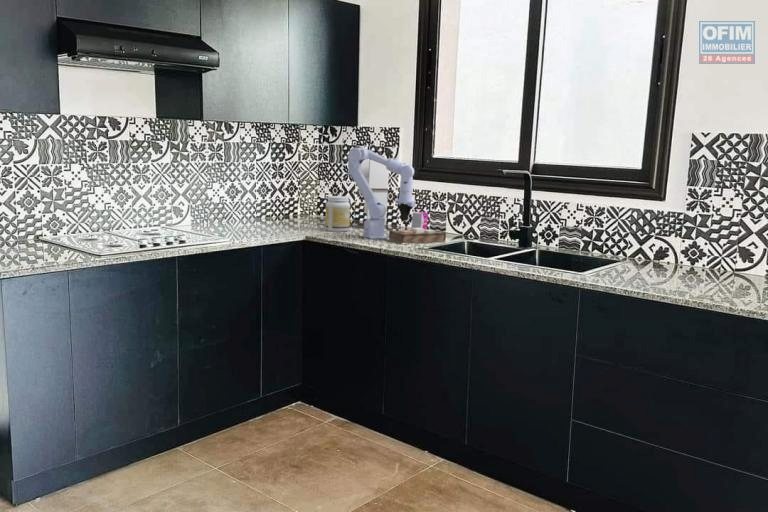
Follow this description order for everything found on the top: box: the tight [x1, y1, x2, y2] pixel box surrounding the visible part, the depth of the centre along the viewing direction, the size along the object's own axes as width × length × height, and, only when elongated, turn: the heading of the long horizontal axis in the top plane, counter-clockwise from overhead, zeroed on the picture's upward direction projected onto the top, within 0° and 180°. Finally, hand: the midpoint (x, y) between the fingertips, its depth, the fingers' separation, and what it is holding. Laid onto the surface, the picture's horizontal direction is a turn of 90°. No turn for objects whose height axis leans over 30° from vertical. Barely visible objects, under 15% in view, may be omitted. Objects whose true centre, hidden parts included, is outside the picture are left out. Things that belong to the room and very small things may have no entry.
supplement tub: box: [324, 195, 351, 233], centre depth 344 cm, size 12×12×17 cm
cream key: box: [410, 227, 424, 233], centre depth 324 cm, size 4×4×4 cm
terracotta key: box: [399, 229, 413, 233], centre depth 320 cm, size 4×4×4 cm
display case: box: [356, 159, 390, 230], centre depth 358 cm, size 11×11×35 cm
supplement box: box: [411, 211, 429, 230], centre depth 343 cm, size 6×6×12 cm
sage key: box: [424, 229, 436, 233], centre depth 327 cm, size 4×4×4 cm
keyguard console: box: [388, 229, 447, 244], centre depth 324 cm, size 24×12×4 cm, turn 122°
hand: (404, 220), depth 324 cm, fingers closed
